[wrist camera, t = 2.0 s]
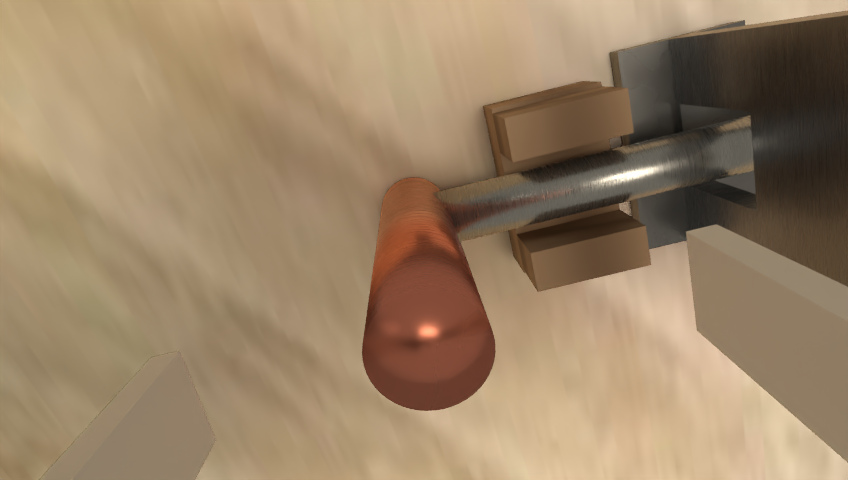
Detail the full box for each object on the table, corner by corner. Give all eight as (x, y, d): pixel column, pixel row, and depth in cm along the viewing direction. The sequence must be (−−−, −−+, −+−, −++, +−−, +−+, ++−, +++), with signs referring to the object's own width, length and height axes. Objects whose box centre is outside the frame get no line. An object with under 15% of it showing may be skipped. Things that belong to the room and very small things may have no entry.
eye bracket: (636, 244, 30) (828, 382, 16) (609, 52, 27) (815, 30, 14) (747, 218, 30) (1032, 335, 16) (732, 22, 27) (1062, -31, 13)
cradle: (513, 256, 30) (538, 295, 24) (483, 106, 28) (503, 113, 22) (605, 234, 30) (651, 269, 24) (582, 81, 27) (627, 82, 22)
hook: (390, 246, 28) (381, 423, 14) (374, 186, 27) (346, 308, 13) (864, 131, 28) (1366, 192, 13) (863, 66, 27) (1401, 54, 12)
